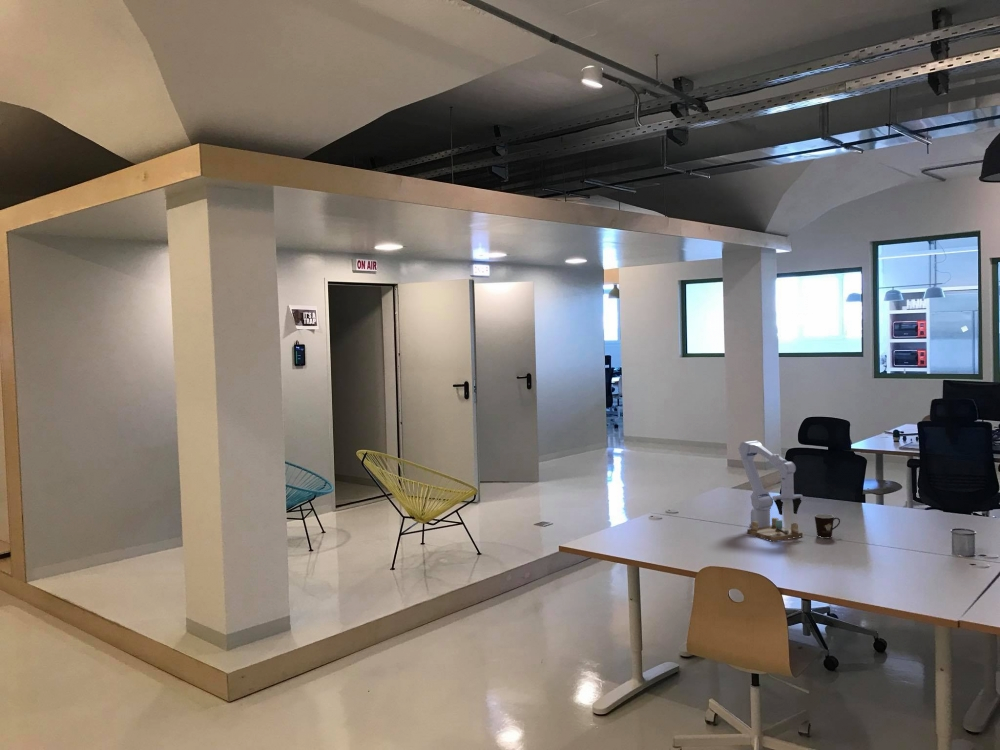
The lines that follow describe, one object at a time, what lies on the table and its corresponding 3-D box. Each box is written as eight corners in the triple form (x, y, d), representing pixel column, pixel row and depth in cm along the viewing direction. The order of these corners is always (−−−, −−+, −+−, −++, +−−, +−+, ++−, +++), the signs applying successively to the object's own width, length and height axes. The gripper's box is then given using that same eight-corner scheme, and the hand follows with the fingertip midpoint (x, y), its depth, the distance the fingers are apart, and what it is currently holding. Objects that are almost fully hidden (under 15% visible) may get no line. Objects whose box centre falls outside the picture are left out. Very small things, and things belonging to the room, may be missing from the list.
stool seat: (747, 533, 379) (747, 521, 379) (775, 528, 386) (775, 516, 386) (773, 541, 363) (773, 529, 362) (802, 536, 370) (802, 524, 369)
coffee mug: (815, 538, 366) (815, 517, 365) (814, 533, 374) (813, 513, 374) (842, 539, 362) (841, 518, 362) (840, 535, 370) (839, 514, 370)
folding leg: (790, 532, 368) (790, 524, 368) (784, 533, 368) (784, 524, 368) (780, 527, 379) (780, 519, 378) (774, 527, 378) (774, 519, 378)
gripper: (776, 489, 372) (777, 516, 372) (805, 487, 373) (806, 515, 374) (770, 486, 379) (771, 513, 379) (798, 484, 380) (799, 511, 381)
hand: (787, 514), depth 377 cm, fingers open, 7 cm apart
